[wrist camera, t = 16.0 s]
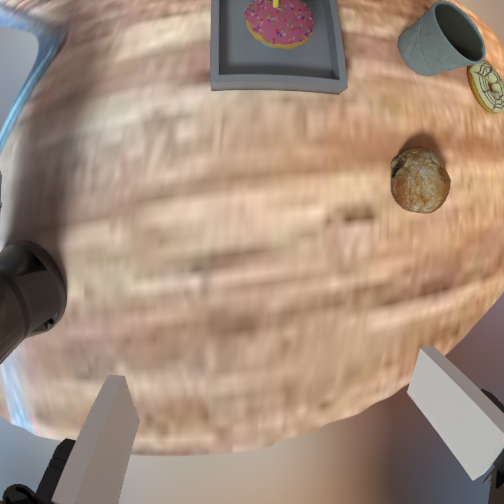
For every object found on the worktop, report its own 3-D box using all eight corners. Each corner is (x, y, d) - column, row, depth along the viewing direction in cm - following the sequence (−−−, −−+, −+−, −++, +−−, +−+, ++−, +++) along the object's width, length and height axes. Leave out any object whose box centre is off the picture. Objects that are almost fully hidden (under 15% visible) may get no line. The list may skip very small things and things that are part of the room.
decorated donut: (479, 57, 34) (491, 53, 30) (502, 104, 37) (515, 103, 33) (456, 69, 35) (469, 65, 31) (482, 121, 37) (496, 120, 34)
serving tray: (211, 90, 34) (210, 82, 30) (212, -6, 29) (212, -19, 26) (338, 94, 35) (347, 88, 32) (326, 0, 31) (333, -11, 27)
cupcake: (230, 40, 31) (233, -8, 20) (263, 2, 30) (276, -47, 18) (286, 70, 33) (311, 31, 21) (316, 31, 32) (346, -11, 20)
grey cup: (442, 87, 35) (490, 73, 24) (395, 70, 34) (441, 47, 23) (435, 38, 33) (477, 18, 21) (388, 20, 32) (427, -11, 20)
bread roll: (391, 144, 41) (398, 132, 33) (449, 161, 38) (465, 153, 30) (381, 203, 43) (386, 203, 36) (438, 220, 40) (453, 223, 33)
